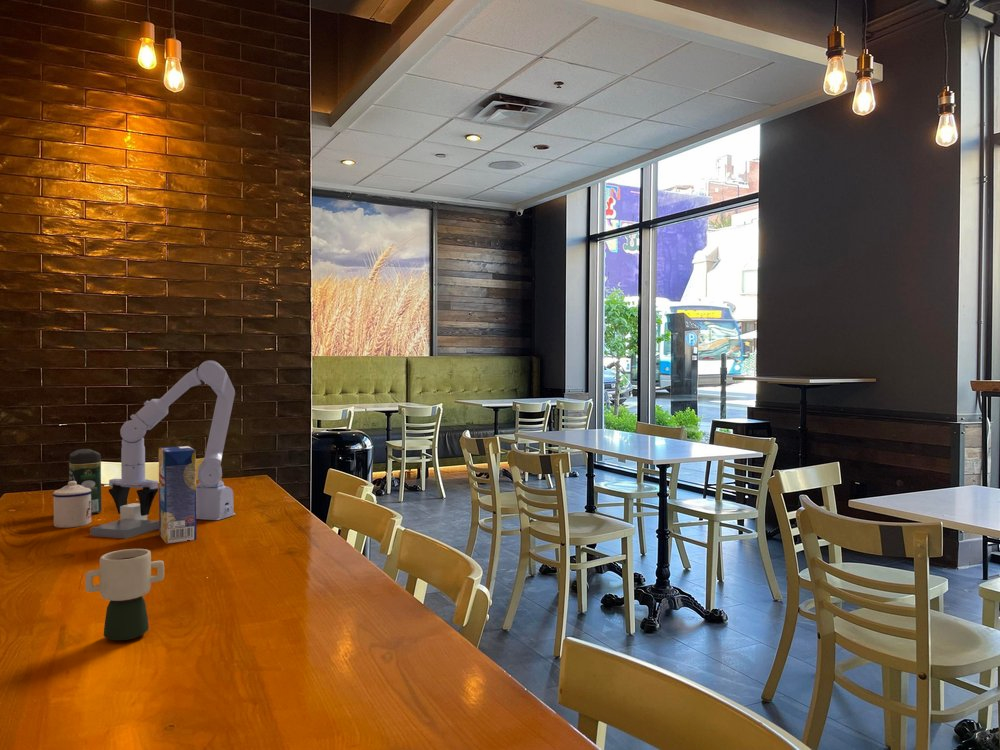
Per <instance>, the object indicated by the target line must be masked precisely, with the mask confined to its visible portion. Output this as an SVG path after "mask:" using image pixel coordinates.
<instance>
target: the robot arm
mask: <svg viewBox="0 0 1000 750" xmlns="http://www.w3.org/2000/svg"><path fill="white" fill-rule="evenodd" d="M202 382H203V383H205V384H206V385H207V386H209V387H211V389H212V390H213V392H214V393H215V395H217V398H216V400H215V401H216V402H215V405H214V406H215V407H214V410H213V411H214V412H213V415H212V420H211V425H210V430H209V435H208V440H207V444H206V450H205V453H204V457H203V461H202V462H201V464H200V465H199V466H198V468H197V480H198V481H199V482H198V483H196V520H206V521H220V520H223V519H227V518H229V517H233V516H235V515H236V513H235V511H234V508H235V507H234V490H233V489H232V488H231V487H229V486H226V485H225V483H224V481H223V480H222V477H223V471H222V470H223V468H222V465H221V464H222V461H223V460H222V459H223V453H224V449H225V444H226V438H227V435H228V429H229V424H230V419H231V416H232V415H231V414H232V410H233V404H234V402H235V401H234V399H235V396H236V391H235V388H234V385H233V384H232V380H231V379H230V377H229V375H228V372H227V370H226V369H225V368H224V367H223V366H222V365H221V364H220V363H219V362H217V361H216V360H205V361H203V362H202V363H201V364H200V365H199V366H198V367H195V368H193V369H192V370H190V371H189V372H188V373H186V374H184V375H183V376H182V377H181V378H180V379H179V380H178V381H177V382H176V383H175V384H174V385H172V387H171V388H170V389H169V390H168V391H166V393H164V394H163V396H162V397H160V398H152V399H150V400H146V401H145V402H143V407H141V408H140V409H139V410H137V412H136V413H135V414H133V413H132V414H131V415H129V417H130V420H127V421H125V422H124V423H123V424H122V426H121V428H120V431H119V432H120V433H119V434H120V437H121V438H122V439H121V448H120V449H121V452H120V453H121V454H120V458H121V460H120V462H121V463H120V464H121V468H120V469H121V478H111V479H109V480H108V486H109V487H110V488H108V493H109V494H110V496H111V497H112V499H113V502H114V504H115V507H116V510H117V514H118V515H120V506H123V505H128V497H129V494H130V489H131V488H135V489H138V490H136V494H137V496H138V501H139V503H140V512H141V516H144V515H147V516H148V515H150V510H151V507H152V504H153V501H154V499H155V497H156V495H157V494H158V493H159V480H152V479H147V478H146V446H145V435H146V434H147V431H151V430H152V429H153V428H154V427H155V426H156V425H158V423H160V422H161V421H162V420H163V419H164V418H165V417H167V415H168V414H169V407H170V405H172V404H173V403H174V402H175V401H177V400H178V399H179V398H180V397H181V396H182V395H184V393H186V392H187V391H188V390H190V388H193V387H197V386H201V385H202Z"/></svg>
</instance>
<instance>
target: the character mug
mask: <svg viewBox="0 0 1000 750" xmlns="http://www.w3.org/2000/svg"><path fill="white" fill-rule="evenodd" d="M151 553H152V552H151V550H149V549H146V548H145V549H144V548H130V549H129V548H128V549H119V550H115V551H110V552H107V553H105V554H103V555H101V556H100V557H99V569H92V570H89V571H86V573H85V590H86V593H95V592H99V594H100V596H101V598H102V599H104V600H107V601H108V605H107V607H106V613H105V620H104V627H103V637H104V638H106V639H108V640H112V641H127V640H131V639H136V638H138V637H140V636H142V635H144V634H145V633H147V632H148V631H149V627H150V626H149V625H150V624H149V616H148V611H147V606H146V600H145V598H144V597H143V596H145V595H148V593H149V592H150V591H151V587H152V583H156V582H160V581H163V580H164V578H165V563H164V561H163V560H155V561H152V554H151ZM153 568H157V572H156V573H157V575H152V569H153ZM97 576H98V577H99V584H94V577H97Z"/></svg>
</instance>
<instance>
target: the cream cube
mask: <svg viewBox="0 0 1000 750" xmlns="http://www.w3.org/2000/svg"><path fill="white" fill-rule="evenodd" d="M119 515H120V517H119V520H122V519H138V520H148V515H144V516H141V512H140V502H139V503H138V502H133V503H127V505H123V506H120V514H119Z"/></svg>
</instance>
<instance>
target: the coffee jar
mask: <svg viewBox="0 0 1000 750" xmlns="http://www.w3.org/2000/svg"><path fill="white" fill-rule="evenodd" d="M101 457H102V456H101V453H100V452H98V451H95V450H93V449H90V448H82V449H75V451H72V452H71V453H70V454H69V458H68V467H69V469H68V482H69V481H76V482H77V484H76V485H81V486H83V487H85V488H90V489H91V491H92V493H91V516H92V515H94V514H99V513H101V512H102V510H103V507H102V506H103V505H102V504H103V503H102V458H101Z"/></svg>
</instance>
